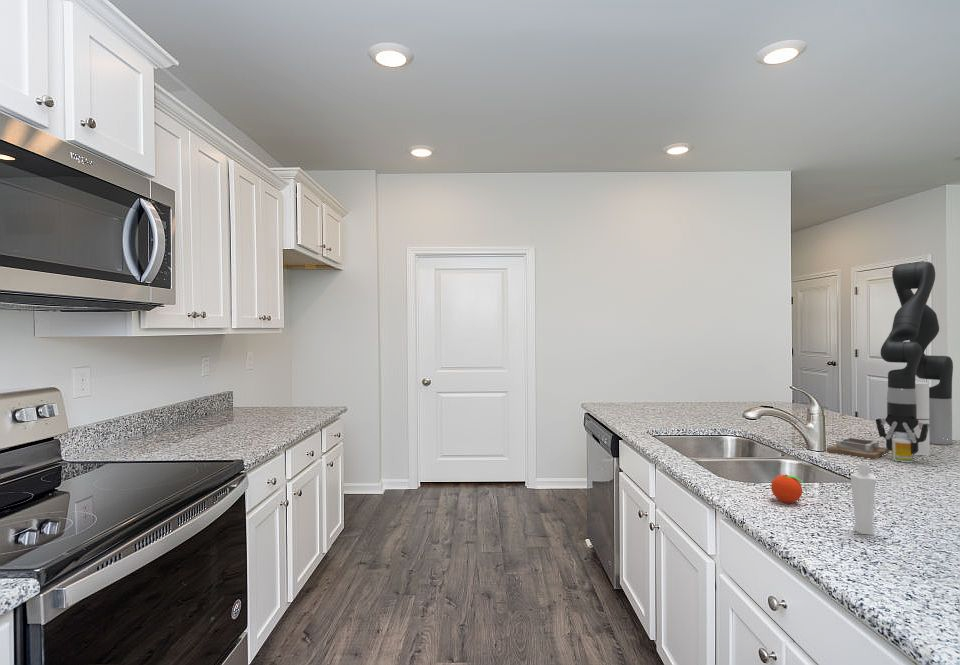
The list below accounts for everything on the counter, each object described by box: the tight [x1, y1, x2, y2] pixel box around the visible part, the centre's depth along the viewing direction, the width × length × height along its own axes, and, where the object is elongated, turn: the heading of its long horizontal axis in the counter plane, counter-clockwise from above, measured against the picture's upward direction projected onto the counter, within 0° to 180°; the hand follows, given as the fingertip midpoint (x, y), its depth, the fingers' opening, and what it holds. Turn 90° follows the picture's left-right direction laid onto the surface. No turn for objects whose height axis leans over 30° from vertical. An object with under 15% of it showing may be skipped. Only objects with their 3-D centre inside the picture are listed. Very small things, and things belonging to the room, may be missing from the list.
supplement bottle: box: [891, 431, 914, 463], centre depth 167 cm, size 5×5×10 cm
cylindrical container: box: [909, 381, 931, 456], centre depth 176 cm, size 7×7×25 cm
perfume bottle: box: [850, 462, 876, 536], centre depth 111 cm, size 5×4×15 cm
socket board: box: [826, 436, 890, 460], centre depth 179 cm, size 15×14×4 cm
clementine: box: [770, 474, 808, 504], centre depth 130 cm, size 8×7×7 cm
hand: (901, 451), depth 167 cm, fingers closed on supplement bottle, 5 cm apart
